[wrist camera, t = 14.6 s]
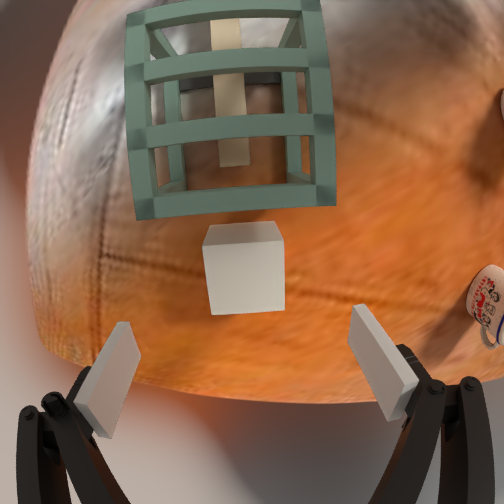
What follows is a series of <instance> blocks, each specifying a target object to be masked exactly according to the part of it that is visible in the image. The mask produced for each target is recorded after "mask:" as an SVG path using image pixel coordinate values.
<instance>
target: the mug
mask: <svg viewBox="0 0 504 504" xmlns="http://www.w3.org/2000/svg"><path fill="white" fill-rule="evenodd" d="M501 112H502V116H503V120H504V90H503V93H502V95H501Z"/></svg>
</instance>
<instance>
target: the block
mask: <svg viewBox="0 0 504 504" xmlns="http://www.w3.org/2000/svg"><path fill="white" fill-rule="evenodd" d="M202 251H203V258H204V266H205V273H206V280H207V287H208V294H209V301H210V307H211V314H212V315H224V314H240V313H255V312H267V311H279V310H285V276H284V240H283V238H282V235H281V233H280V231H279V229H278V227H277V225H276V223H275V221H259V222H244V223H231V224H217V225H210V226H209V229H208V231H207V234H206V237H205V239H204V242H203V245H202Z"/></svg>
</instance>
